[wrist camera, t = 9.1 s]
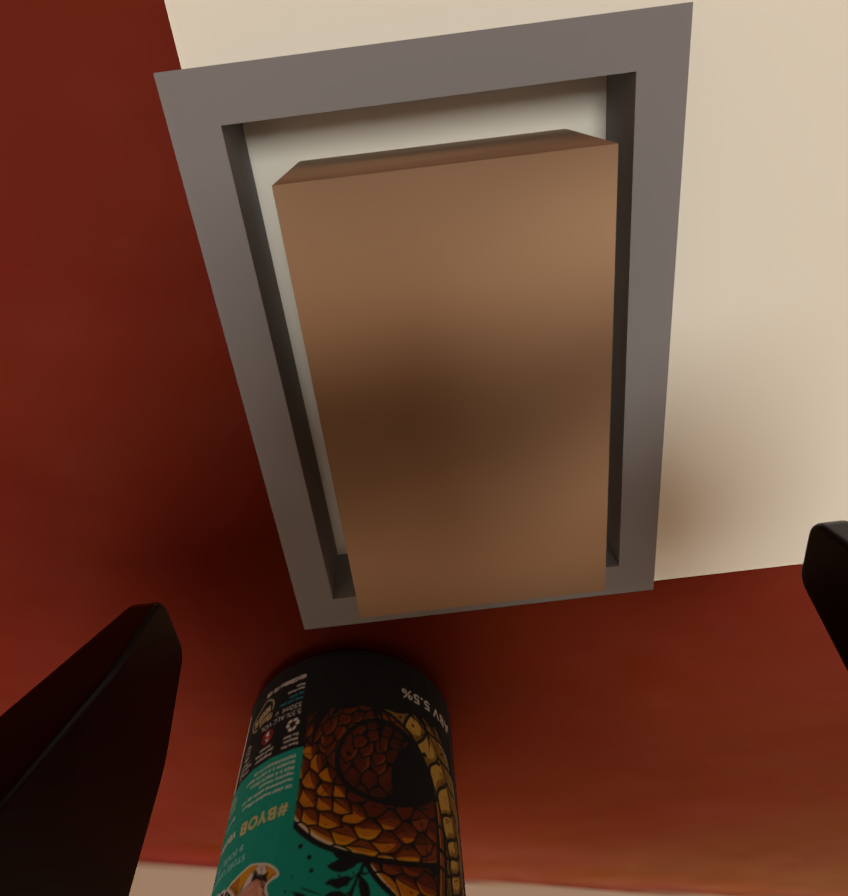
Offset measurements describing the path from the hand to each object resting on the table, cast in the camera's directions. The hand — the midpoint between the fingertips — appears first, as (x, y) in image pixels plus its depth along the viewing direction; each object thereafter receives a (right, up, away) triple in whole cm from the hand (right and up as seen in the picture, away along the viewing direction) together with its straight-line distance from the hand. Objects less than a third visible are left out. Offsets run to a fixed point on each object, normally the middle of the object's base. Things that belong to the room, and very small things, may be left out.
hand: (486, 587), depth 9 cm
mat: (+6, +5, +9) cm, 12 cm away
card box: (0, +4, +8) cm, 9 cm away
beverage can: (-4, -7, +15) cm, 17 cm away
